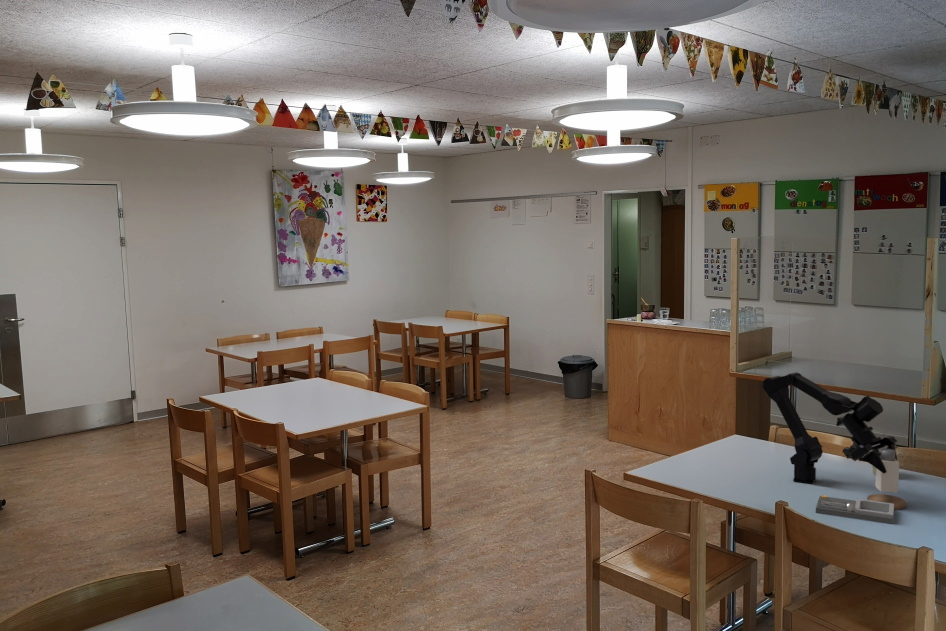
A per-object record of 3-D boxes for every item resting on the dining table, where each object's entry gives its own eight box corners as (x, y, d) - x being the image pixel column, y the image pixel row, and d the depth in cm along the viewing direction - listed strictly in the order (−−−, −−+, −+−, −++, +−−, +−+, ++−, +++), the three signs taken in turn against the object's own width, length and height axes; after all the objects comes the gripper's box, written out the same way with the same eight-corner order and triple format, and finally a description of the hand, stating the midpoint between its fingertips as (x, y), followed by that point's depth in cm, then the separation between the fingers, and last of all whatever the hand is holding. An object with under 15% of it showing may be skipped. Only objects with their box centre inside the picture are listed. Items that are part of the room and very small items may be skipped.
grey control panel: (815, 512, 234) (815, 504, 234) (819, 500, 244) (820, 492, 244) (892, 524, 223) (893, 515, 223) (893, 510, 234) (894, 502, 233)
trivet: (866, 506, 238) (866, 502, 238) (868, 495, 247) (868, 492, 247) (905, 511, 232) (906, 508, 232) (906, 500, 242) (906, 497, 242)
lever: (817, 512, 234) (817, 500, 234) (818, 510, 236) (818, 498, 235) (852, 517, 229) (853, 504, 229) (853, 515, 231) (853, 503, 230)
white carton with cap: (880, 491, 237) (882, 452, 236) (875, 486, 242) (876, 447, 241) (897, 492, 236) (899, 452, 235) (892, 487, 241) (893, 448, 240)
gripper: (857, 438, 256) (888, 477, 248) (825, 447, 246) (857, 488, 238) (881, 420, 248) (914, 460, 240) (849, 429, 238) (882, 471, 230)
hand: (891, 470), depth 237 cm, fingers closed on white carton with cap, 7 cm apart
